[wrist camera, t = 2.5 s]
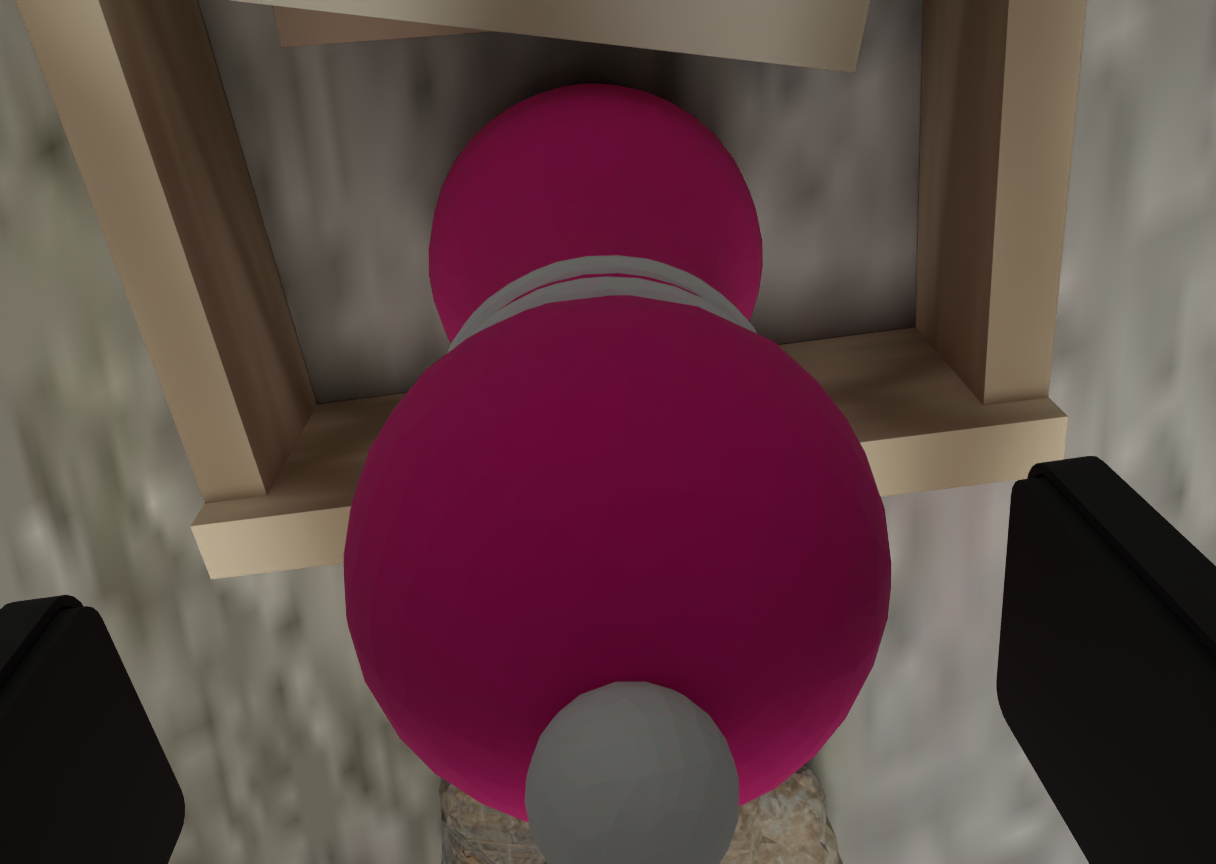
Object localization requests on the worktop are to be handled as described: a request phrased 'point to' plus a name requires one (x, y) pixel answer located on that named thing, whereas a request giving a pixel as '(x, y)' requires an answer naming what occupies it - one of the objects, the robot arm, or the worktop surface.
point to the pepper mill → (612, 498)
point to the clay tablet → (756, 860)
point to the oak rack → (344, 431)
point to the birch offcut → (650, 24)
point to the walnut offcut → (349, 28)
